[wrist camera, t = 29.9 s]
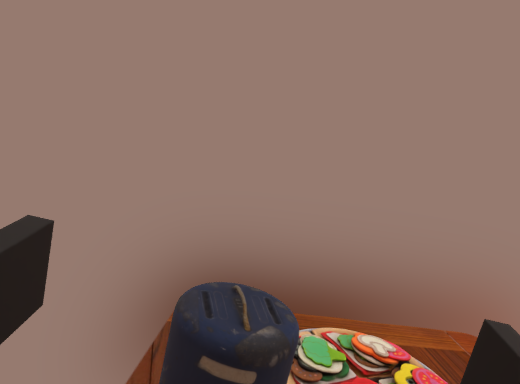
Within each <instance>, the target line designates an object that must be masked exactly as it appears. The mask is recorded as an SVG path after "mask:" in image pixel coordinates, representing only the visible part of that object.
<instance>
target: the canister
mask: <svg viewBox="0 0 520 384" xmlns="http://www.w3.org/2000/svg"><path fill="white" fill-rule="evenodd" d="M298 340H299V326H298V322H297V320H296V318H295V316H294V314H293V313H292V312H291V310H290V309H289V308H288V307H287V306H286V305H285V304H283V303H282V302H281V301H280V300H278V299H277V298H275V297H273V296H272V295H270V294H268V293H266V292H264V291H261V290H259V289H256V288H253V287H250V286H246V285H242V284H236V283H227V282H214V283H206V284H201V285H198V286H195V287H193V288H191V289H190V290H188V291H186V292H185V293H184V294H183V295H182V296H181V297H180V298H179V300H178V302H177V304H176V306H175V310H174V313H173V318H172V322H171V328H170V333H169V338H168V343H167V348H166V353H165V358H164V363H163V368H162V373H161V377H160V382H159V384H287V381H288V377H289V374H290V370H291V366H292V363H293V359H294V355H295V352H296V348H297V345H298Z"/></svg>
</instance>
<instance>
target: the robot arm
mask: <svg viewBox="0 0 520 384" xmlns="http://www.w3.org/2000/svg"><path fill="white" fill-rule="evenodd" d="M53 225H54V221H53V220H48V219H44V218H40V217H35V216H30V215H27V216H25V217H23V218H21V219H20V220H18V221H16V222H14V223H12V224H10V225H8V226H6V227H4V228H2V229H0V344H1V343H2V342H4V341H5V340H6V339H7V338H8V337H9V336H10V335H11V334H12V333H13V332H14V331H15V330H16V329H17V328H19V327H20V326H21V325H22V324H23V323H24V322H25V321H26V320H27V319H28V318H29V317H30V316H31V315H32V314H33V313H34V312H36V310H38V309H39V308H40V307H41V306H42V305H43V299H44V291H45V284H46V277H47V269H48V262H49V254H50V247H51V240H52V232H53ZM460 384H520V335H519V334H518V333H517V332H516V331H515V330H514V329H513V328H512V327H511V326H510V325H508V324H503V323H499V322H495V321H491V320H486V319H485V320H484V322H483V325H482V328H481V330H480V333H479V336H478V338H477V341H476V343H475V346H474V349H473V351H472V354H471V357H470V359H469V362H468V365H467V367H466V370H465V373H464V375H463V378H462V381H461V383H460Z"/></svg>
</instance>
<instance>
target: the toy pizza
mask: <svg viewBox="0 0 520 384" xmlns="http://www.w3.org/2000/svg"><path fill="white" fill-rule="evenodd" d="M287 384H448V383H447V382H446V381H444V380H443V379H442V378H440V377H439V376H438V375H437V374H435V373H434V372H433V371H432V370H430V369H429V368H428V367H426V366H425V365H424V364H422V363H421V362H419V361H418V360H416V359H415V358H413V357H411V356H410V355H409V354H408V353H407V352H406V351H404V350H403V349H402V348H400V347H398V346H397V345H395V344H393V343H391V342H388V341H386V340H382V339H380V338H378V337H374V336H370V335H366V334H363V333H359V332H355V331H350V330H346V329H338V328H318V329H305V330H300V331H299V340H298V345H297V348H296V352H295V355H294V359H293V363H292V366H291V370H290V374H289V377H288V381H287Z"/></svg>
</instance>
